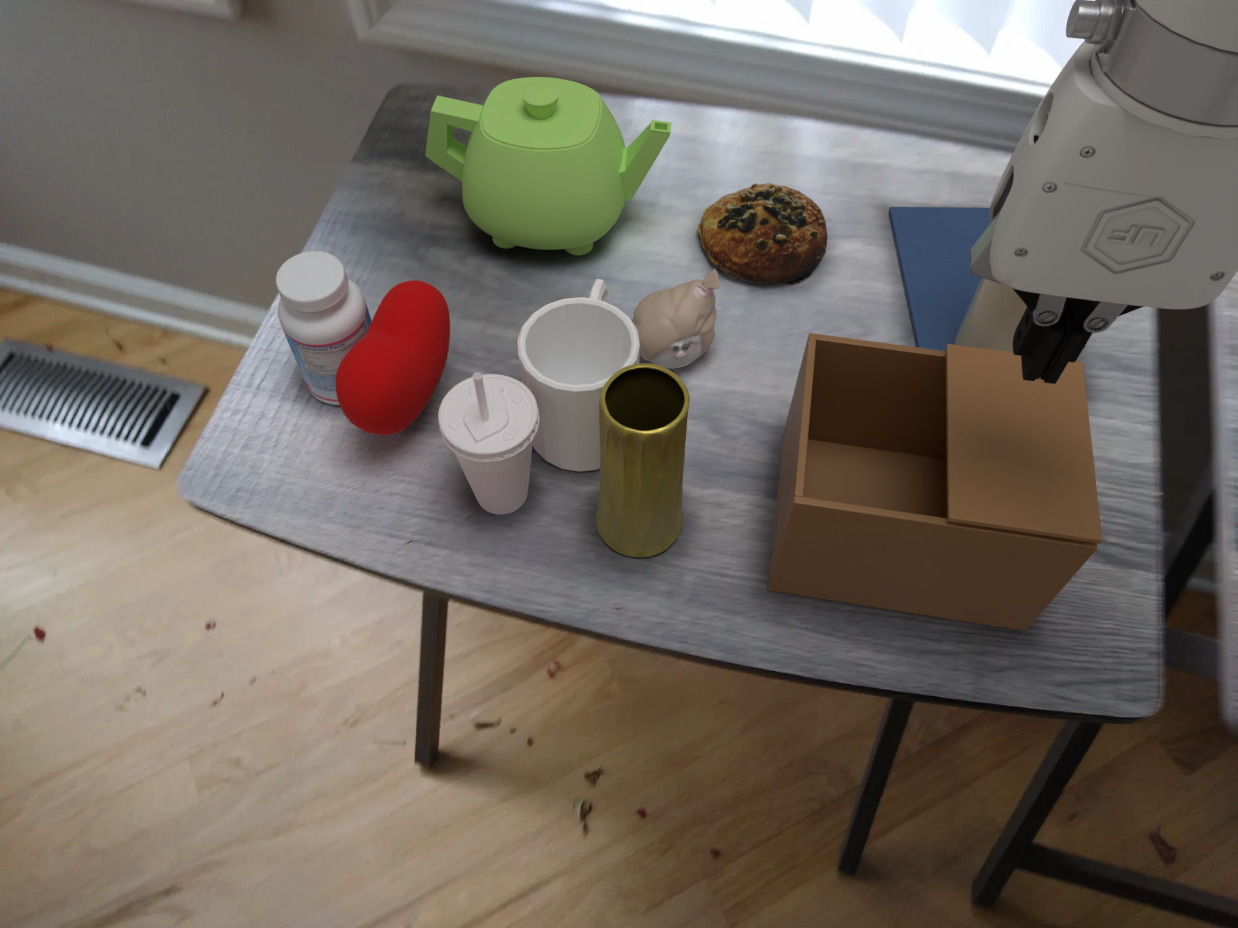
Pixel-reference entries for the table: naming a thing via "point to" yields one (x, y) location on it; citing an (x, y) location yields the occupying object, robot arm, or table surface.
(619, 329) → the mug
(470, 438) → the smoothie
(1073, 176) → the robot arm
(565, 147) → the teapot
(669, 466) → the vase
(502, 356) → the table surface
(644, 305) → the garlic bulb
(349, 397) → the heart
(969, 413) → the flap
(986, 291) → the beige cylinder rod
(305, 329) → the pill bottle
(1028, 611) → the carton
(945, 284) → the mat
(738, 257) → the bread roll
